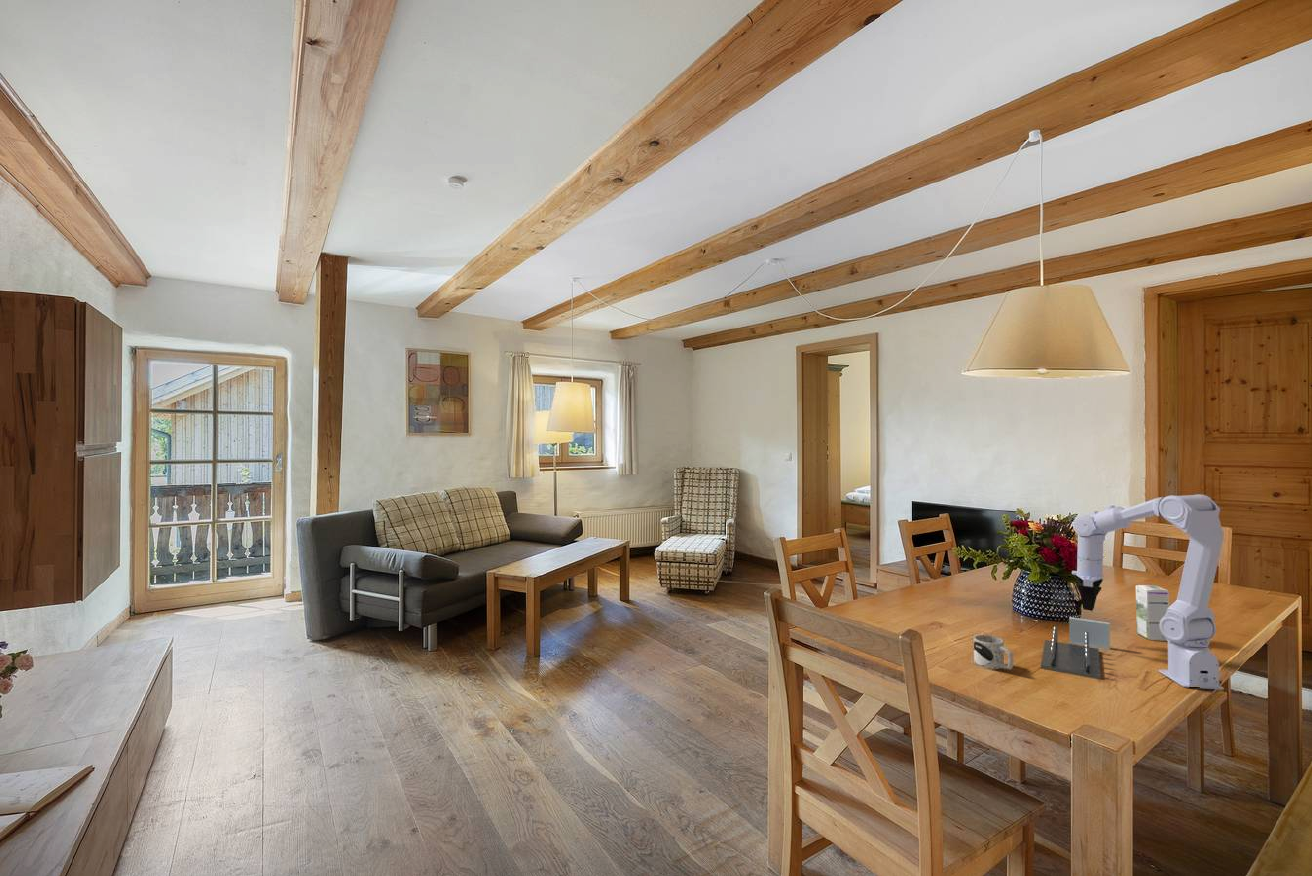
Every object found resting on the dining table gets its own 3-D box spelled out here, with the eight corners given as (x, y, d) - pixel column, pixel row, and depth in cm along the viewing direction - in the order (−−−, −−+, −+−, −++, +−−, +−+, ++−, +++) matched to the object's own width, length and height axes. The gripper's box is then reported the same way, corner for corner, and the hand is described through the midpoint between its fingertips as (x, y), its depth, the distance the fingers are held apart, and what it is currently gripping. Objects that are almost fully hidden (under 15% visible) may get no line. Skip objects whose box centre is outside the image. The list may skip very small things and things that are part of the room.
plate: (1109, 649, 159) (1109, 624, 159) (1069, 643, 165) (1069, 618, 165) (1109, 648, 161) (1109, 622, 161) (1069, 641, 166) (1069, 617, 166)
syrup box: (1171, 641, 165) (1170, 590, 165) (1147, 640, 166) (1146, 589, 166) (1158, 634, 171) (1157, 585, 171) (1135, 633, 172) (1134, 584, 172)
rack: (1100, 679, 140) (1100, 657, 140) (1040, 668, 147) (1040, 647, 147) (1098, 651, 158) (1098, 632, 158) (1045, 642, 165) (1044, 624, 165)
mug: (968, 662, 152) (967, 636, 152) (986, 658, 154) (986, 633, 154) (1003, 676, 142) (1002, 649, 142) (1022, 672, 145) (1022, 645, 145)
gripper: (1074, 551, 171) (1073, 597, 171) (1070, 560, 160) (1069, 610, 160) (1104, 554, 166) (1103, 602, 167) (1102, 565, 155) (1101, 615, 156)
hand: (1088, 606), depth 163 cm, fingers open, 7 cm apart
